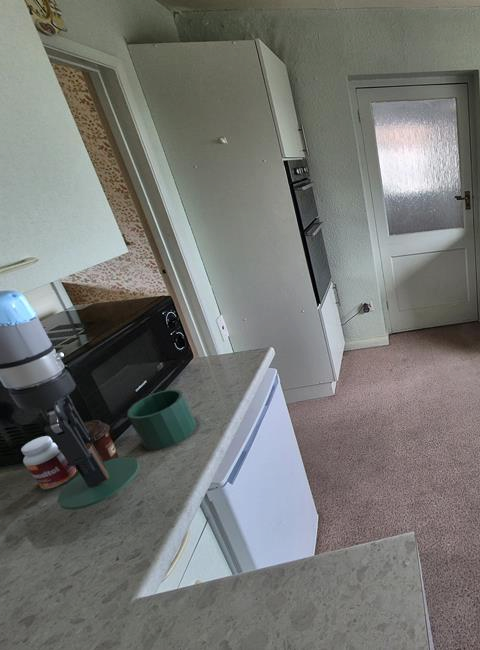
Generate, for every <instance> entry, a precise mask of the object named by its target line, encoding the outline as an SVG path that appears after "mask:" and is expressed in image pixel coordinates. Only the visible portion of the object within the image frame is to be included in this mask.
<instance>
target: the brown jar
mask: <svg viewBox="0 0 480 650" xmlns="http://www.w3.org/2000/svg"><path fill="white" fill-rule="evenodd" d="M83 423H84V425H85V427H86V428H87V430H88V431H89V435H88V436H89V437H92V436H95V439H96V440H95V441H92V442H90V443H89V444H91V443H92V444H93V445H94V447H95V449H96V451H97V452H98V454H99V456H100V457H101V459H102V461H103V462H105V461H108V460H111V459H114V458H119V455H118V451H117V449H116V447H115V443H114V440H113V438H112V437H111V435H110V434H111V433H110V425H109V424H108V423H105V422H102V421H101V420H99V419H93V420H89V421H85V422H84V421H83ZM58 450H59V451H60V449H59V448H58Z"/></svg>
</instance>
